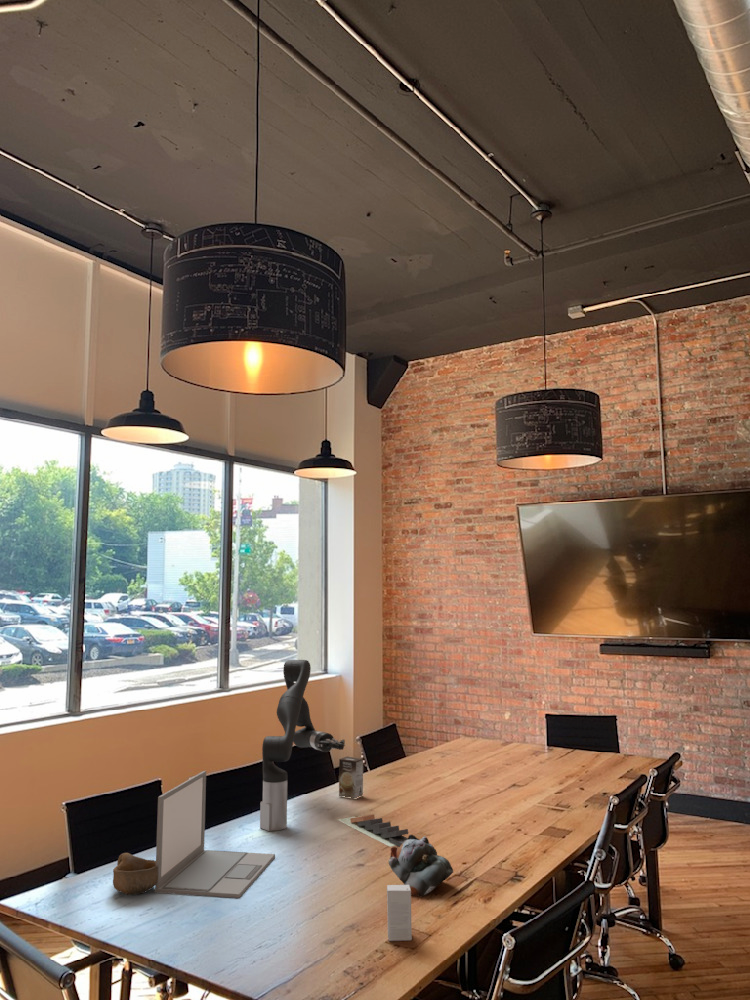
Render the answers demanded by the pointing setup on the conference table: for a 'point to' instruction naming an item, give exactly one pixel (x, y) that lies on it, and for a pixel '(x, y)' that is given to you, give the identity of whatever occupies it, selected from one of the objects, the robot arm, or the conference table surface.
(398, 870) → the lucky cat figurine
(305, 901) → the conference table surface
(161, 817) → the laptop
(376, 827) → the domino
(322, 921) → the conference table surface
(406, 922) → the skincare box
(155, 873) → the bowl
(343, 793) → the coffee box
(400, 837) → the domino
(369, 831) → the strip
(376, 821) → the domino
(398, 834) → the domino
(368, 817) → the domino
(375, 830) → the domino
